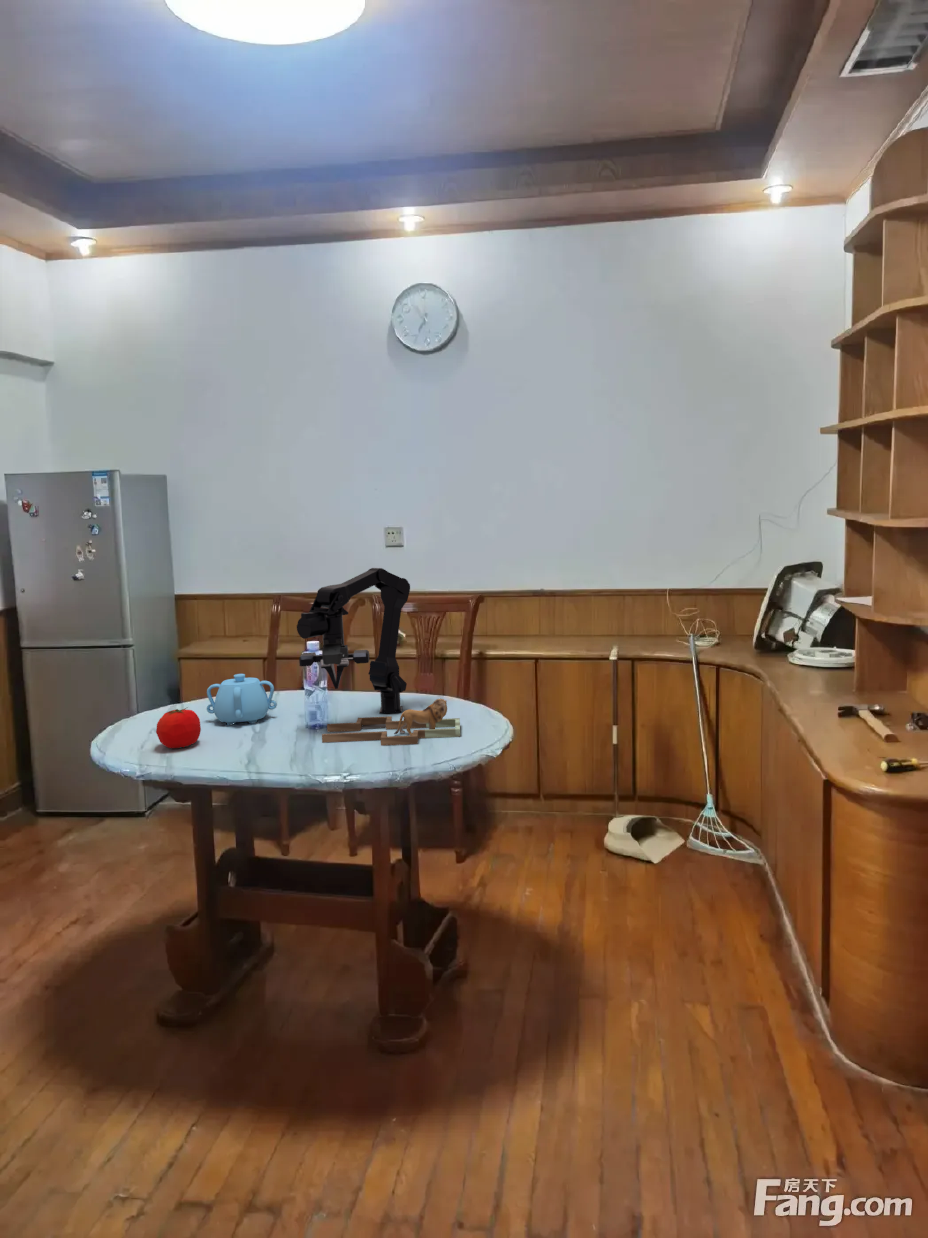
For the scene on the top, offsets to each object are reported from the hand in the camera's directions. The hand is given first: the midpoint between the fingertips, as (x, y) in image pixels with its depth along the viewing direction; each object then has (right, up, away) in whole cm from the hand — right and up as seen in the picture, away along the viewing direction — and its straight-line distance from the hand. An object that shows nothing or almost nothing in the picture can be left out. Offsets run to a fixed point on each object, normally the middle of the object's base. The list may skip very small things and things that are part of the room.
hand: (336, 688), depth 258 cm
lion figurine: (+24, -12, -8) cm, 28 cm away
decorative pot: (-29, -10, +14) cm, 34 cm away
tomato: (-40, -15, -11) cm, 44 cm away
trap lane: (+16, -12, -8) cm, 21 cm away
